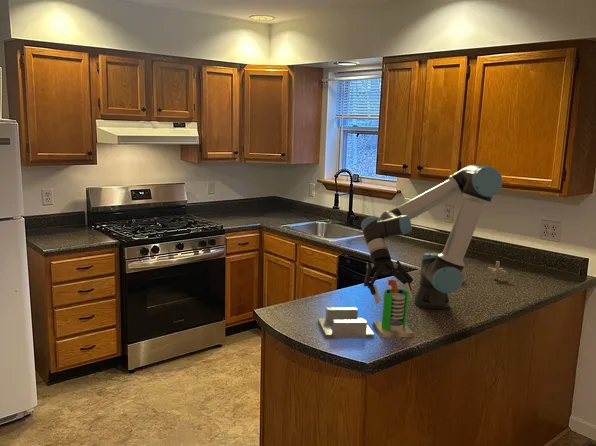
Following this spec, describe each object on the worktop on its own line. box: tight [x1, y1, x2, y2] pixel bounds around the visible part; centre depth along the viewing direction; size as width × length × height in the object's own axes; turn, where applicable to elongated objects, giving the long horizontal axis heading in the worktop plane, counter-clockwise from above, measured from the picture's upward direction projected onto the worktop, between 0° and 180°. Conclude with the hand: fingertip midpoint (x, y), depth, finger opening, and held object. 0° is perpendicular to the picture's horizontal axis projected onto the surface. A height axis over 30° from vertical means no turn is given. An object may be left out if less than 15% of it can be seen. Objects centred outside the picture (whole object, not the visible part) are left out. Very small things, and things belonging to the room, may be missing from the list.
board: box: [372, 321, 414, 338], centre depth 201 cm, size 12×12×2 cm
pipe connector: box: [487, 260, 508, 279], centre depth 278 cm, size 10×10×10 cm
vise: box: [317, 306, 375, 339], centre depth 202 cm, size 18×21×6 cm
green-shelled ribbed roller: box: [381, 279, 408, 331], centre depth 199 cm, size 9×8×18 cm
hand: (394, 300), depth 198 cm, fingers open, 13 cm apart
